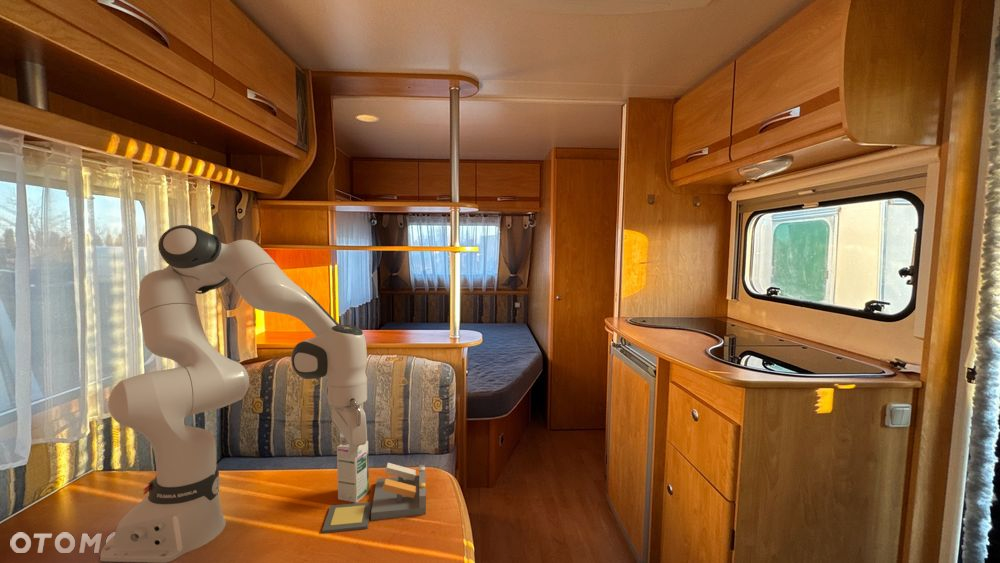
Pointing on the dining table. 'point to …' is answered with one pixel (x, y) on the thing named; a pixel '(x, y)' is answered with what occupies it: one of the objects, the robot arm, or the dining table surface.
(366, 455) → the syrup box
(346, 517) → the pad
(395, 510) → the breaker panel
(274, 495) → the dining table surface
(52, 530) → the dining table surface
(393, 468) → the block
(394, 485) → the block
